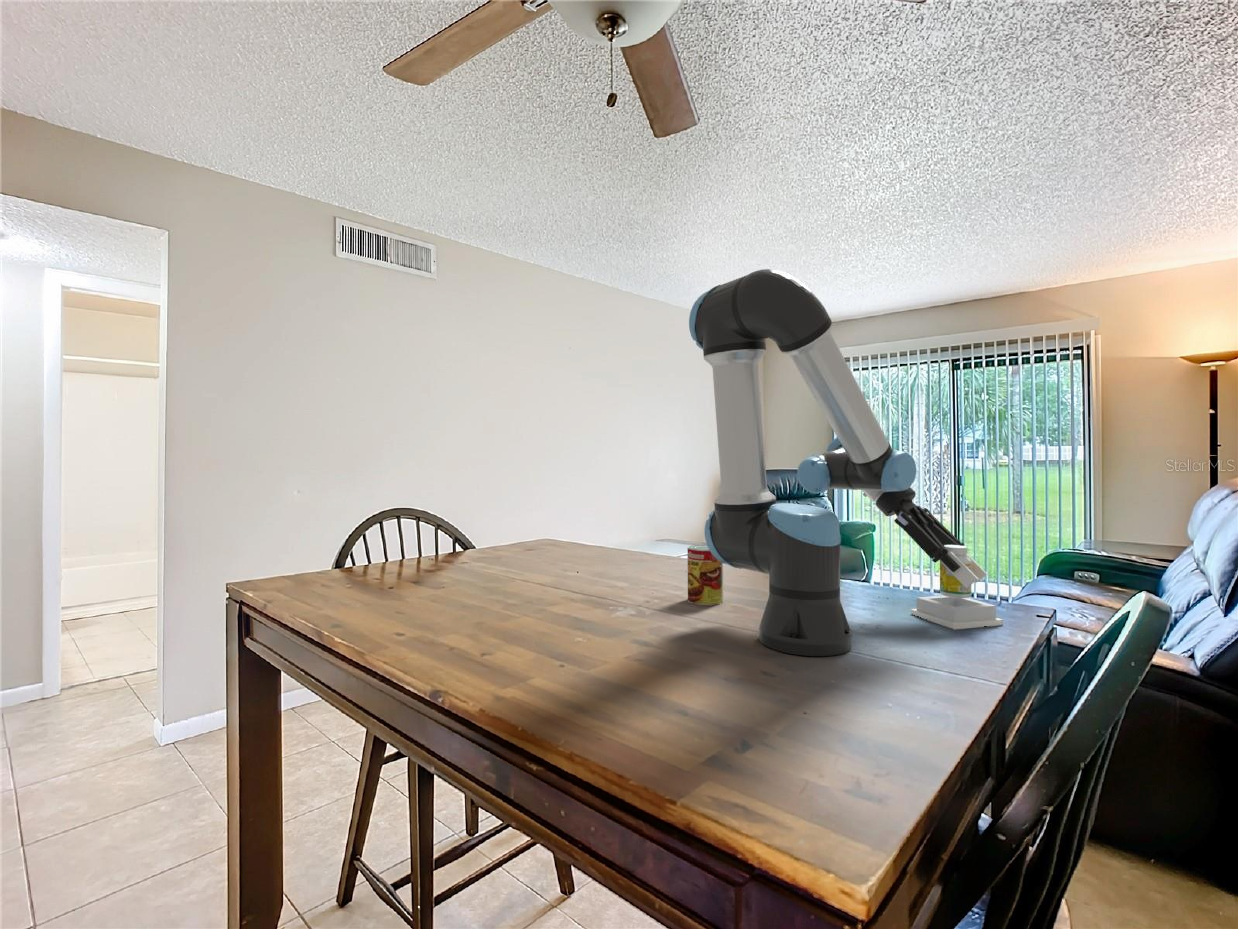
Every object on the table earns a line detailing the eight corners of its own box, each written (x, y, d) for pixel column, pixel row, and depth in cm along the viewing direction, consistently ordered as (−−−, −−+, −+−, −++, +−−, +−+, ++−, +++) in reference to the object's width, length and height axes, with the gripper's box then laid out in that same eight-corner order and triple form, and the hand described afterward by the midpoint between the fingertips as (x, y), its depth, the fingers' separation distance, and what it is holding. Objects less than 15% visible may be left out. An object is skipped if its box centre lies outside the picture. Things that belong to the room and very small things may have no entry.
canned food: (682, 598, 133) (682, 545, 133) (714, 595, 134) (714, 544, 134) (695, 606, 125) (695, 550, 125) (729, 603, 127) (728, 549, 127)
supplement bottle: (968, 600, 110) (968, 549, 110) (937, 596, 113) (936, 546, 113) (973, 594, 114) (973, 545, 114) (943, 590, 117) (942, 543, 117)
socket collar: (954, 629, 107) (954, 610, 107) (910, 614, 117) (910, 596, 117) (1002, 625, 109) (1002, 606, 109) (956, 610, 120) (955, 593, 120)
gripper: (892, 501, 131) (975, 585, 119) (856, 506, 118) (946, 601, 106) (917, 478, 127) (1006, 562, 115) (883, 481, 114) (979, 576, 102)
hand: (977, 580), depth 111 cm, fingers closed on supplement bottle, 5 cm apart
